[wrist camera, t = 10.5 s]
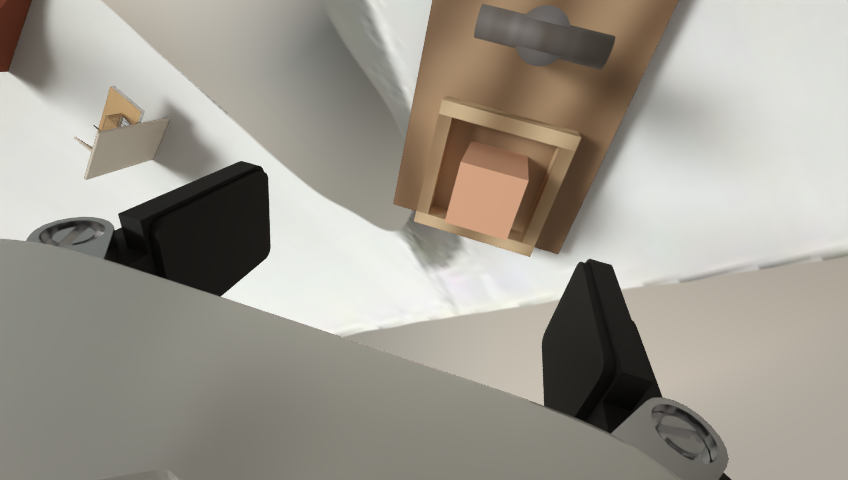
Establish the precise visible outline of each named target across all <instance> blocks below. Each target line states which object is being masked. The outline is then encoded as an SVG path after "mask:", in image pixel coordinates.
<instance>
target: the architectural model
mask: <svg viewBox="0 0 848 480" xmlns="http://www.w3.org/2000/svg"><path fill="white" fill-rule="evenodd" d="M161 56H162V55H161ZM162 57H163V56H162ZM168 62H169V61H168ZM169 63H170V62H169ZM170 64H171V63H170ZM171 65H172V64H171ZM177 70H178V69H177ZM178 71H179V70H178ZM179 72H180V71H179ZM180 73H181V72H180ZM181 74H182V73H181ZM184 76H185V75H184ZM185 77H186V76H185ZM186 78H187V77H186ZM187 79H188V78H187ZM188 80H189V79H188ZM189 81H190V80H189ZM190 82H191V81H190ZM191 83H193V82H191ZM193 84H194V83H193ZM194 85H195V84H194ZM195 86H196V85H195ZM196 87H197V86H196ZM197 88H198V87H197ZM198 89H199V90H200V91H201V92H202V93H203V94H204V95H206V94H205V93H204V92H203V91H202V90H201V89H200V88H198ZM206 96H207V97H208V98H209V99H210V100H211V101H212V102H213V103H214V104H215V105H216V106H217V107H219V108H220V109H221V110H222V111H223V112H224V113H225V114H226V115H228V116H229V117H230V115H229V114H228V113H227V112H226V111H225V110H224V109H222V108H221V107H220V106H219V105H218V104H217V103H216V102H214V101H213V100H212V99H211V98H210V97H209V96H208V95H206ZM143 114H144V111H143V110H142V109H141V108H140V107H139V106H137V105H136V104H135V103H134V102H133V101H132V100H130V99H129V98H128V97H127V96H126V95H124V94H123V93H122V92H121V91H120V90H118V89H117V88H116V87H115V86H112V87H110V90H109V94H108V97H107V100H106V104H105V107H104V111H103V114H102V118H101V121H100V125H99V128H97V127H96V126H95V125H93V126H95V127H96V128H97V129H98V132H97V135H96V138H95V142H94V145H93V147H91V146H89V145H88V144H86V143H85V142H83V141H81V140H80V139H78V138H76V137H74V139H76V140H77V141H78V142H79V143H81V144H82V145H83V146H84V147H86V148H87V149H88V150H89V151H91V155H90V159H89V162H88V166H87V169H86V173H85V176H84V179H86V180H87V179H90V178H94V177H97V176H100V175H103V174H107V173H110V172H113V171H116V170H120V169H123V168H126V167H129V166H133V165H136V164H139V163H142V162H146V161H149V160H152V159H154V157H155V155H156V152H157V150H158V147H159V145H160V142H161V140H162V137H163V135H164V132H165V130H166V127H167V125H168V122H169V120H170V119H169V118H163V119H158V120H153V121H148V122H143V123H141V120H142V117H143ZM123 118H125V119H126V120H127V121H128V122H129V123H128V122H126V121H124V120H123ZM122 121H124V122H126V123H128V124H129V126H126V125H124V124H123V123H122ZM121 124H123V125H124V127H121Z"/></svg>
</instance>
